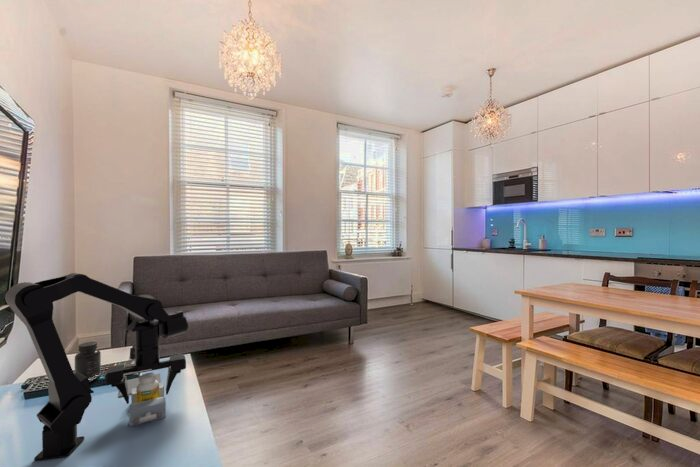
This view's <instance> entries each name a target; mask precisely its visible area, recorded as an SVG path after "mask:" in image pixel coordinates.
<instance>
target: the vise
mask: <svg viewBox="0 0 700 467" xmlns="http://www.w3.org/2000/svg"><path fill="white" fill-rule="evenodd" d="M136 389H137V388H133V389H132V393H131V395H130V396H131V405H129V427H133V426H137V425H140V424H144V423H147V422H148V423H149V422H151V421H155V420H159V419H162V418H166V415H167V412H166V411H167V410H166V408H167V405H166V404H167V403H166V402H167V401H166V397H165V382H164V381H161V383H159V398H155V399H151V400H147V401H143V402H139V403H137V390H136Z"/></svg>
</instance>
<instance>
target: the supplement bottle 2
mask: <svg viewBox="0 0 700 467" xmlns="http://www.w3.org/2000/svg"><path fill="white" fill-rule="evenodd" d="M156 374H157V373H156V372H145V373H143V374H141V375H140V376H139V377H138V378H139V382H140V384H138V386H137V389H136V390H137V403H139V402H143V401H147V400H151V399H155V398H159V382H158V381H157V380H156Z"/></svg>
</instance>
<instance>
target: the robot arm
mask: <svg viewBox="0 0 700 467" xmlns="http://www.w3.org/2000/svg"><path fill="white" fill-rule="evenodd" d="M75 293H81V294H84V295H87V296H89V297H92V298H95V299H98V300H101V301H104V302H106V303H108V304H112V305H115V306H117V307H119V308H121V309H122V310H124V311H126V312H127V313H128V314H130V315H132V316H134V317H136V318H138V319H142V320H144V321H140V322H139V321H138V320H132V322H131V323H130V324H129V325H127V326H126V328H125V330H127V331H129V332H132V333H133V332H135V335H134V336H135V337H134V340H135V343H134V344H135V346H134V347H130V349H129V360H134V363H135V365H134V366H130V367H125V366H126V365H125V364H124V363H123V364H118V365H113V366H108V368H107V369H106V371H105V374H104V385H106V386H109V385H110V387H112V388H114V387H115V388H116V389H117V390H118V391H120V392H121V394H122V395H123V396H122V397H123V399H124V401H125V402H126V405H129V404H130V395H129V393H128V387H127V380H128V379H127V376H131V375H135V374H141V373H148V372H152V371H157V370H162V369H166V368H167V378H166V386H165V395H166V396H167V395H168V394H169V392H170V391H171V390H170V389H171V387H172V385H173V383H174V382H173V381H175V378H176V376H177V375H178V374H180V373H181V372H182V370H185V369H187V360H186V356H185V355H184V354H183V353H179V354H172V355H169V359H168V360H162V361H160V358H161V357H160V336H161V337H162V338H164V339H168V338H172V337H175V336H178V335H182V334H184V333H185V334H186V333H187V331H188V328H189V323H188V321H187V318H186V316H185V315H184V311H182V310H177V311H174V312H171V313H167V312H166V310H165V309H164V307H163V302H162V301H161V300H158V299H156V298H153V297H152V298H151V297H146V296H142V295H141V296H140V295H136V294H132V293H129V292H126V291H124V290H122V289H119V288H117V287H114V286H111V285H108V284H106V283H103V282H101V281H99V280H95V279H93V278H90V277H89V276H88V275H86V274H82V273H77V272H75V273H74V272H71V273H69V274H66V275H62V276H59V277H58V276H57V277H55V278H54V277H53V278H50V279H45V280H40V281H37V282H34V283H33V282H29V281H28V282H27V281H26V282H25V281H24V282H20V283H16V284H13V285H12V286H11V287H10V288H9V289H8V290H7V292H6V293H5V295H4V299H5V302H6V304H7V306H8V307H9V308H10V309H11V310H12V312H13V313H14V315H15V316H17V317H18V319H19V320H20V321H21V322H22V324H24V326H25V327H26V329H27V332H28V334H29V336H30V339H31V341H32V344H33V346H34V348H35V350H36V353H37V355H38V357H39V359H40V362H41V364H42V367H43V369H44V372H45V374H46V377H47V378H48V390H47V393H48V399H49V400H48V402H47V403H46V404H45V405H44V406H43V407H42V408H41V409H40V411H39V412H37V413H36V417H37V419H38V420H39V422H40V423H41V424H43V427H42V432H41V435H42V436H41V437H42V438H41V440H42V441H41V442H42V445H41V446H42V448H41V449H42V450H41V451H40V452H38V453H37V455H36V456H34V458H33V460H34V461H43V460H49V459H50V460H51V459H57V458H58V459H59V458H66V457H68V456H70V455H71V454H72V452H73V451H74V450H75V449H77V447H78V446H79V445H80V444H81V443H82V442H83V441H84V440H85V436H78V425H79V424H81V422H82V420H83V419H82V418H83V417H84V414H85V411H86V409H87V408H89V405H90V404H91V403H92V395H91V394H94V392H95V391H94V390H93V389H91V386H90V382H89V380H88V378H87V377H85V376H83V375H82V374H80V373H78V372H77V373H75V372H74V371H73V368H72V365H71V364H70V361H69V358H68V356H67V353H66V351H65V348H64V346H63V343H62V341H61V338H60V336H59V333H58V331H57V329H56V324H55V323H54V319H53V317H54V302H57V301H59V300H63V299H65V298H67V297H68V296H70V295H72V294H75ZM154 320H156V321H154Z"/></svg>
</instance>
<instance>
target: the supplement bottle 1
mask: <svg viewBox="0 0 700 467" xmlns="http://www.w3.org/2000/svg"><path fill="white" fill-rule="evenodd" d="M97 343H98V342H96V341H88V342H83V343H80V344H78V350H77V351H78V353H77V354H75V355H74V374H75V373H77V372H78V373H80V374H82V375H83V376H85V377H87V378H89V377H93V376H95V375H98V374H99V373H100V372H101V373H102V370H101V369H102V368H101V367H102V366H101V365H102V364H101V362H102V360H101V359H102V355H101V354H102V353H101V351H100V350H99V349H98V344H97Z"/></svg>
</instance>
